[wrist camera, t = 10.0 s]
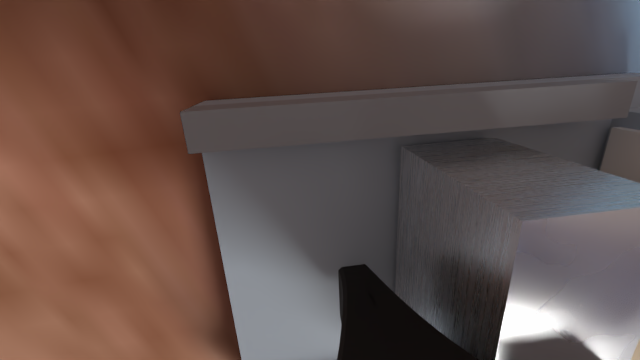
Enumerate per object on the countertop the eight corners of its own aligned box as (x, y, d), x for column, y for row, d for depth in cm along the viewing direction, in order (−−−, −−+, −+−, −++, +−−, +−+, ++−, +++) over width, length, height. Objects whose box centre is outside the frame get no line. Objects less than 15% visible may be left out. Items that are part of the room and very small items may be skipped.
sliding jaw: (495, 137, 9) (794, 232, 4) (463, 355, 12) (605, 575, 7) (400, 145, 9) (585, 260, 4) (391, 367, 12) (484, 606, 7)
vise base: (628, 73, 11) (1045, 77, 5) (557, 326, 15) (741, 494, 9) (205, 100, 10) (83, 155, 4) (253, 375, 14) (236, 617, 8)
